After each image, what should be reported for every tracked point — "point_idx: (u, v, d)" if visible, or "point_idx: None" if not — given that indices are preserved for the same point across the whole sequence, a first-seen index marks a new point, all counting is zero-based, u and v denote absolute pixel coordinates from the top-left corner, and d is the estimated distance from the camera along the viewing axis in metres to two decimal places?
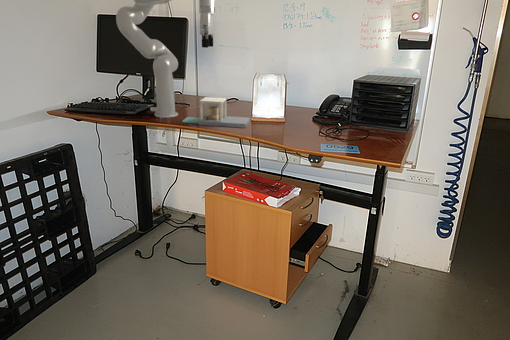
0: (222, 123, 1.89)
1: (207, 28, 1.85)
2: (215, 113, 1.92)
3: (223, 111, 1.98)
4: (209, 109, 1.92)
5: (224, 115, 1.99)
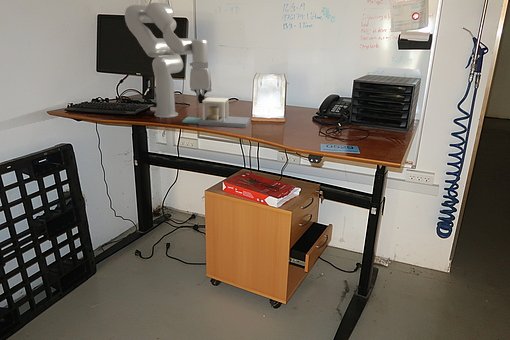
0: (222, 123, 1.89)
1: None
2: (215, 113, 1.92)
3: (225, 111, 1.98)
4: (209, 109, 1.92)
5: (226, 115, 1.99)
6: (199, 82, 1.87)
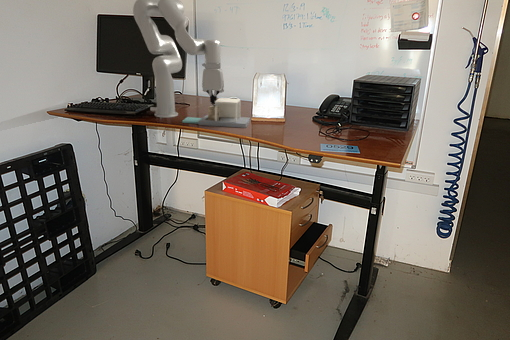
0: (222, 123, 1.89)
1: (223, 83, 1.90)
2: None
3: (237, 112, 1.97)
4: (209, 109, 1.92)
5: (238, 116, 1.98)
6: (211, 82, 1.87)
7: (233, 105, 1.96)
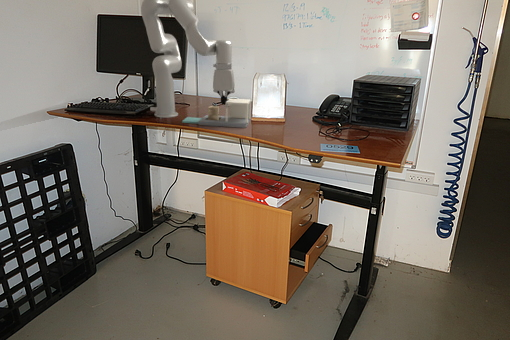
0: (222, 123, 1.89)
1: None
2: (215, 113, 1.92)
3: (247, 112, 1.96)
4: (209, 109, 1.92)
5: (248, 116, 1.97)
6: (222, 83, 1.86)
7: (243, 106, 1.95)
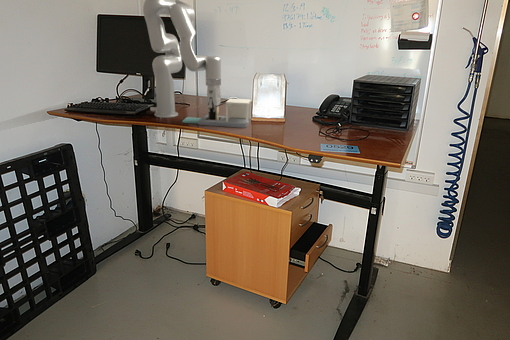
0: (222, 123, 1.89)
1: None
2: None
3: (248, 112, 1.96)
4: None
5: (249, 116, 1.97)
6: (218, 97, 1.92)
7: (244, 106, 1.95)
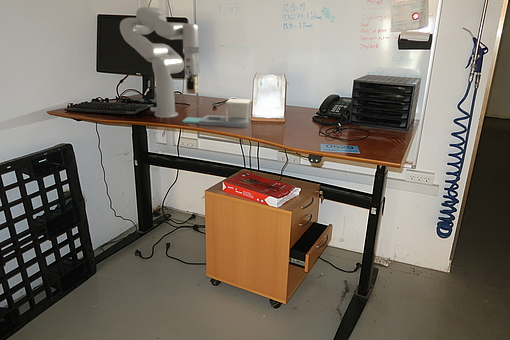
0: (222, 123, 1.89)
1: None
2: None
3: (248, 112, 1.96)
4: None
5: (249, 116, 1.97)
6: (196, 67, 1.88)
7: (244, 106, 1.95)
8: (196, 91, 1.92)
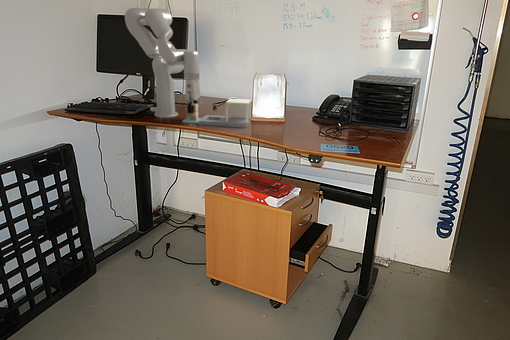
0: (222, 123, 1.89)
1: None
2: (194, 110, 1.94)
3: (248, 112, 1.96)
4: None
5: (249, 116, 1.97)
6: (197, 92, 1.92)
7: (244, 106, 1.95)
8: (197, 118, 1.97)
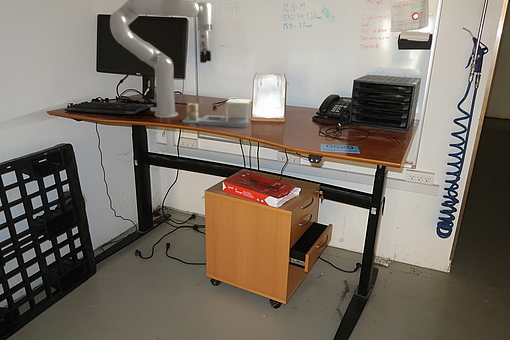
0: (222, 123, 1.89)
1: None
2: (194, 110, 1.94)
3: (248, 112, 1.96)
4: (188, 106, 1.93)
5: (249, 116, 1.97)
6: (210, 43, 2.02)
7: (244, 106, 1.95)
8: (197, 118, 1.97)
